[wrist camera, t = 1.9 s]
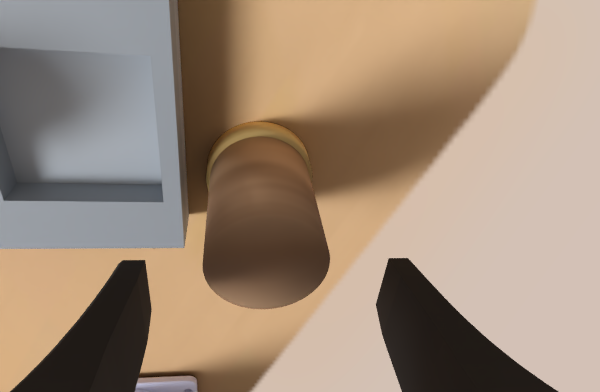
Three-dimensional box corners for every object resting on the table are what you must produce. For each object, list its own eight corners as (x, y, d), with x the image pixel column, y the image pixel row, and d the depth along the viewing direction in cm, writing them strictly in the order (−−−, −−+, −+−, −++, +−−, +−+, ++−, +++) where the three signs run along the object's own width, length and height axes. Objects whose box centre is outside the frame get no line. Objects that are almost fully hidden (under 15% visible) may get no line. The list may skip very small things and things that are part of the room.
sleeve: (303, 209, 21) (325, 310, 16) (208, 208, 20) (199, 313, 15) (314, 123, 18) (343, 211, 13) (206, 119, 18) (195, 210, 13)
